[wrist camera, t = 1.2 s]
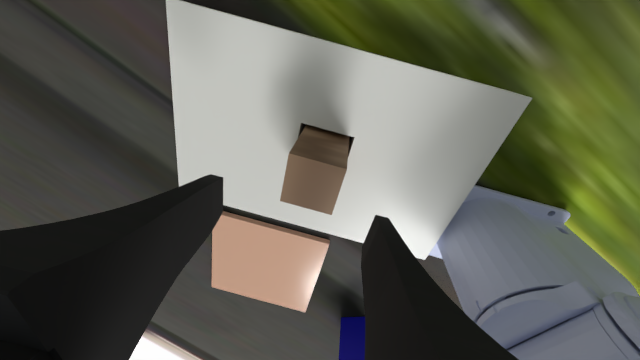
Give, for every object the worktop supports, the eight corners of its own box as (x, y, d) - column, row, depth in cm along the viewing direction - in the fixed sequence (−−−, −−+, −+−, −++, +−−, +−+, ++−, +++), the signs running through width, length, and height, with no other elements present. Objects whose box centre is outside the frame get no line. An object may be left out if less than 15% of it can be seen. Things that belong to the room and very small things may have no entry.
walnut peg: (349, 129, 19) (347, 169, 13) (338, 164, 21) (331, 215, 15) (310, 118, 19) (288, 153, 13) (302, 154, 21) (279, 200, 15)
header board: (509, 90, 16) (532, 97, 14) (418, 239, 23) (424, 259, 21) (190, 2, 16) (165, -4, 14) (195, 178, 23) (179, 192, 21)
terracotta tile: (329, 240, 25) (329, 244, 24) (306, 307, 31) (305, 312, 30) (215, 209, 25) (212, 212, 24) (214, 282, 31) (211, 286, 30)
